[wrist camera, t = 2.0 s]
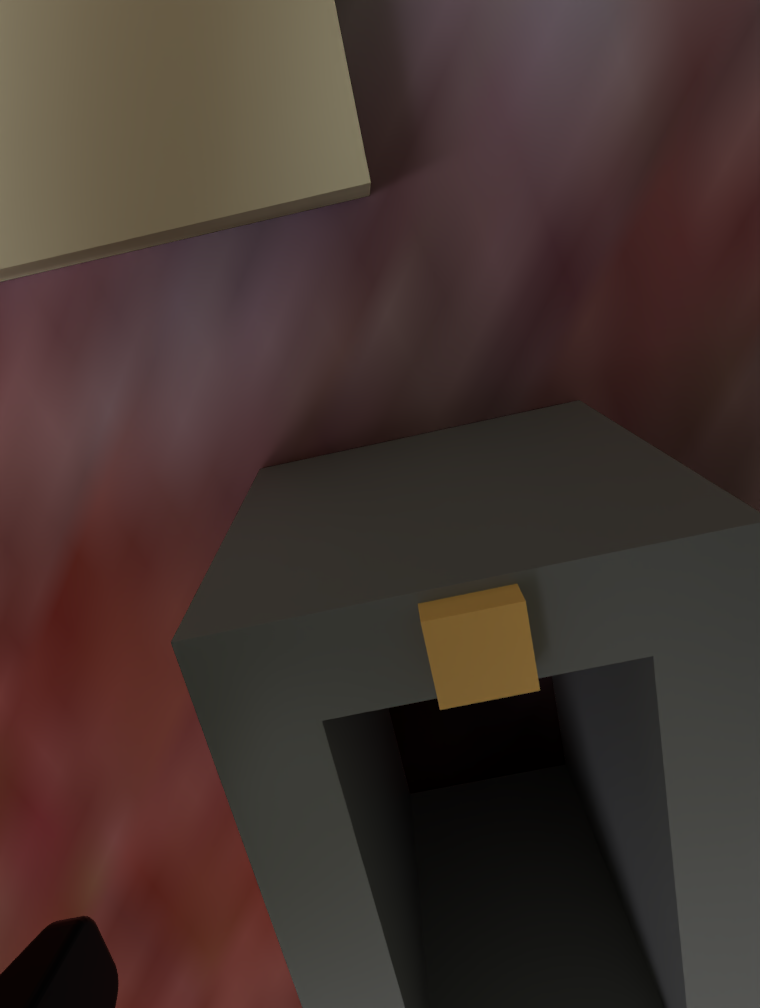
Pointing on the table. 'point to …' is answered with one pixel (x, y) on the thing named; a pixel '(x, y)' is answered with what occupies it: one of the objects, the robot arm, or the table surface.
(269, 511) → the grey open bin
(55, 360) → the table surface
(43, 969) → the robot arm
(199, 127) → the switch plate
